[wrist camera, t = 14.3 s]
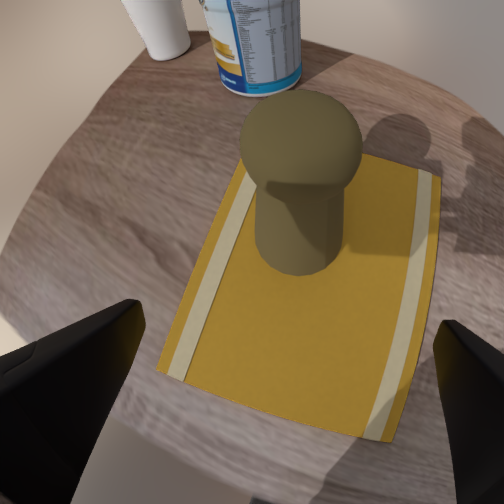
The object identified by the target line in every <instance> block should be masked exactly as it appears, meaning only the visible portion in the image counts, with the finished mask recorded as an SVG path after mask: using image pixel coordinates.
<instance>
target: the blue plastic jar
mask: <svg viewBox="0 0 504 504" xmlns="http://www.w3.org/2000/svg"><path fill="white" fill-rule="evenodd" d="M199 2H200V4H201V5H202V8H203V11H204V15H205V19H206V22H207V26H208V30H209V34H210V37H211V41H212V45H213V49H214V53H215V56H216V60H217V65H218V68H219V74H220V78H221V81H222V83H223V84H224V86H225V87H226V88H227V89H229V90H230V91H232V92H234V93H236V94H239V95H243V96H248V97H266V96H270V95H273V94H276V93H279V92H282V91H286V90H288V89H290V88H291V87H292V86H294V85H295V84H296V83H297V81H298V80H299V78H300V76H301V73H302V63H301V36H300V0H199Z"/></svg>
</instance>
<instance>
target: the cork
mask: <svg viewBox="0 0 504 504" xmlns="http://www.w3.org/2000/svg"><path fill="white" fill-rule="evenodd" d="M362 146H363V142H362V135H361V132H360V129H359V126H358V124H357V121H356V120H355V118H354V117H353V115H352V114H351V113H350V112H349V111H348V109H347V108H346V107H345V106H344V105H343V104H342V103H340V102H339V101H337V100H336V99H334V98H333V97H331V96H328V95H325V94H323V93H320V92H317V91H310V90H302V89H299V90H287V91H282V92H279V93H276V94H273V95H270V96H269V97H267V98H265V99H264V100H262V101H260V102H259V103H258V104H257V105H256V106H255V107H254V108H253V110H252V111H251V112H250V113H249V115H248V116H247V117H246V119H245V121H244V124H243V127H242V130H241V133H240V155H241V158H242V162H243V165H244V166H245V168H246V170H247V172H248V174H249V176H250V178H251V179H252V180H253V182H254V183H255V184H256V208H255V231H254V232H255V244H256V247H257V249H258V251H259V253H260V256H261V257H262V258H263V259H264V260H265V261H266V262H267V264H268V265H269V266H270V267H272V268H274V269H276V270H278V271H279V272H281V273H283V274H288V275H293V276H304V275H312V274H314V273H317V272H319V271H321V270H323V269H325V268H326V267H327V266H328V265H329V264H331V263H332V262H333V261H334V260H335V258H336V257H337V255H338V253H339V251H340V249H341V246H342V239H343V223H344V188H345V187H346V186H347V185H348V184H349V183H350V182H351V181H352V179H353V177H354V176H355V174H356V172H357V170H358V168H359V166H360V162H361V159H362Z"/></svg>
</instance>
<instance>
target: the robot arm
mask: <svg viewBox="0 0 504 504" xmlns="http://www.w3.org/2000/svg"><path fill="white" fill-rule="evenodd" d="M145 327H146V322H145V317H144V313H143V309H142V304H141V302H140V301H139V300H134V299H126V300H123V301H121V302H119V303H117V304H115V305H113V306H110V307H108V308H106V309H104V310H102V311H99V312H97V313H95V314H93V315H91V316H89V317H86V318H84V319H82V320H80V321H78V322H76V323H73V324H71V325H69V326H67V327H65V328H63V329H60V330H58V331H56V332H54V333H52V334H50V335H47V336H45V337H43V338H41V339H39V340H38V341H34V342H32V343H30V344H28V345H26V346H24V347H21V348H19V349H17V350H15V351H12V352H10V353H7V354H5V355H2V356H0V504H70V503H71V501H72V498H73V496H74V493H75V491H76V488H77V486H78V483H79V481H80V478H81V476H82V473H83V471H84V468H85V466H86V464H87V462H88V459H89V457H90V455H91V453H92V450H93V448H94V446H95V443H96V441H97V439H98V437H99V435H100V432H101V430H102V428H103V426H104V424H105V421H106V419H107V417H108V415H109V413H110V411H111V408H112V406H113V404H114V402H115V400H116V398H117V396H118V394H119V392H120V389H121V387H122V385H123V383H124V381H125V379H126V377H127V375H128V373H129V371H130V369H131V366H132V364H133V361H134V358H135V355H136V353H137V350H138V347H139V344H140V342H141V339H142V336H143V334H144V331H145ZM433 352H434V359H435V365H436V372H437V380H438V387H439V393H440V398H441V403H442V407H443V412H444V417H445V422H446V427H447V432H448V438H449V444H450V450H451V457H452V464H453V471H454V479H455V489H456V499H457V504H504V354H502V353H501V352H500V351H498V350H497V349H495V348H494V347H493V346H491V345H490V344H489V343H487V342H486V341H484V340H483V339H482V338H480V337H479V336H477V335H476V334H474V333H473V332H472V331H470V330H469V329H467V328H466V327H465V326H463V325H462V324H460V323H459V322H457V321H456V320H443V321H442V322H441V324H440V326H439V329H438V332H437V334H436V337H435V339H434V343H433Z"/></svg>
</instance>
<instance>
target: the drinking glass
mask: <svg viewBox="0 0 504 504" xmlns="http://www.w3.org/2000/svg"><path fill="white" fill-rule="evenodd" d="M121 2H122V4H123V6H124V7H125V9H126V11H127V12H128V15H129V16H130V18H131V20H132V22H133V23H134V25H135V27H136V29H137V31H138V33H139V34H140V36H141V38H142V40H143V42H144V44H145V46H146V48H147V50H148V53H149V55H150V57H151V58H152V59H154V60H157V61H165V60H170V59H173V58H176V57H178V56H180V55H182V54H183V53H184V52H186V51H187V50H188V49H189V47H190V45H191V40H190V36H189V33H188V30H187V26H186V20H185V15H184V10H183V4H182V0H121Z"/></svg>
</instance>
